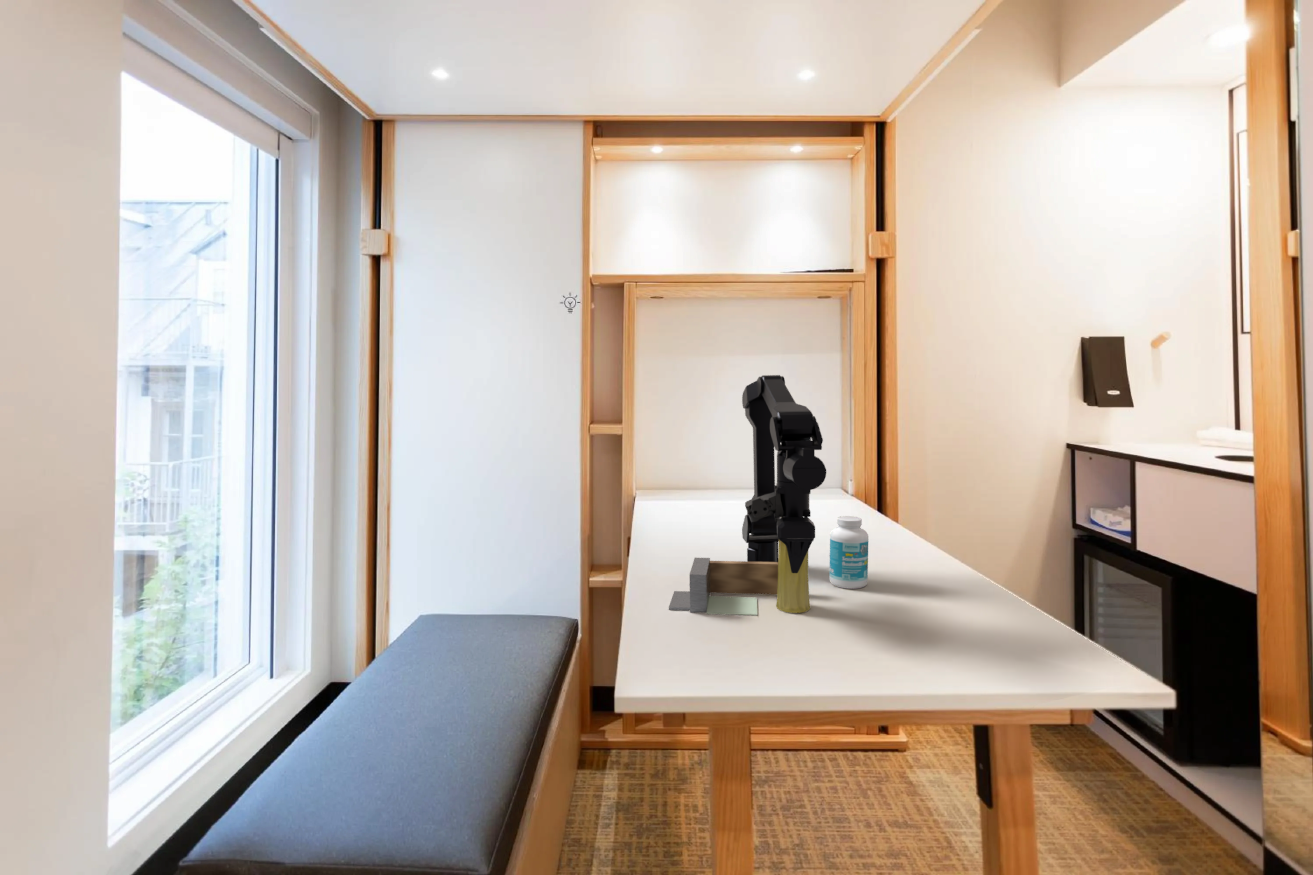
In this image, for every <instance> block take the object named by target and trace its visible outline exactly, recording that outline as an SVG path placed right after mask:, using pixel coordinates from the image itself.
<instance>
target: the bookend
mask: <svg viewBox="0 0 1313 875" xmlns="http://www.w3.org/2000/svg"><path fill="white" fill-rule="evenodd" d="M710 561H711V557H694V559H693V561H692V565H691V569H690V572H689V591H686V590H683V591H681V590H674V591H673V593H672V597H671V599H670V603H669V605H668V610H670V611H689V612H690V613H696V614H697V613H698V614H701V613H702V614H706V612H707V608H708V602H709V597H710V596H711V593H710Z"/></svg>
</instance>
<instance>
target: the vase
mask: <svg viewBox="0 0 1313 875" xmlns="http://www.w3.org/2000/svg"><path fill="white" fill-rule="evenodd" d="M776 599H777V600H776V604H775V606H776V608H777V609H778V610H779V611H781V612H783V613H787V614H802V613H806V612H808V611H810V610H811V603H810V586H809V551H808V552H807V554H806V556H805V558H804V560H803V563H802V565H801V567H800V569H799V572H798V573H792V572H791V567H790V562H789V557H788V552H787V547H786V545H785V544H784V543H783V542H782V541H780V540H779V541H778V588H777V595H776Z"/></svg>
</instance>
